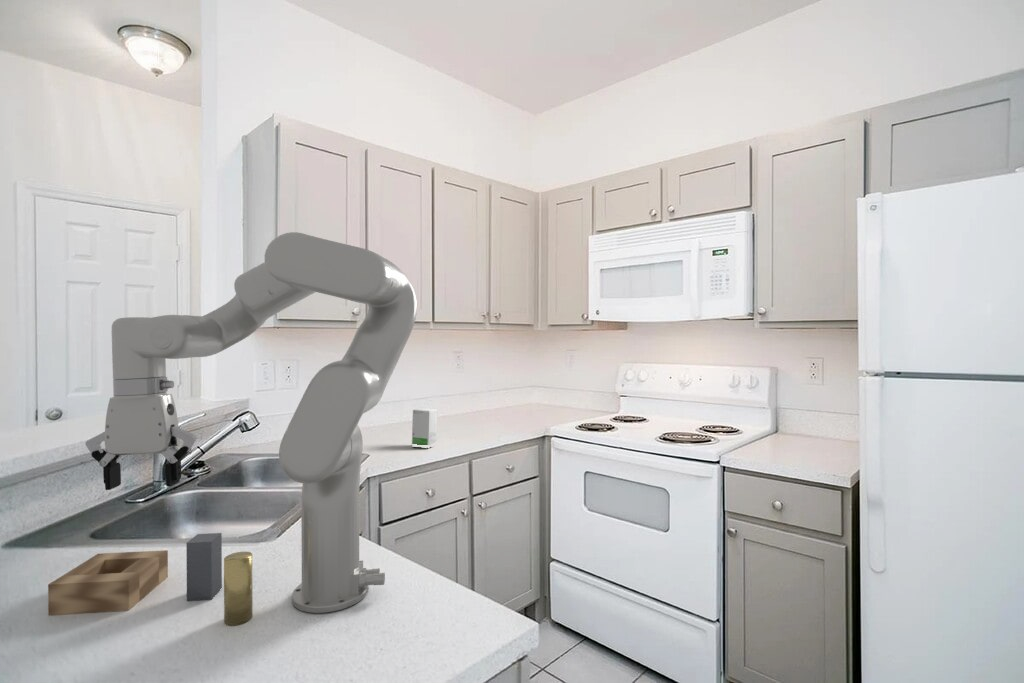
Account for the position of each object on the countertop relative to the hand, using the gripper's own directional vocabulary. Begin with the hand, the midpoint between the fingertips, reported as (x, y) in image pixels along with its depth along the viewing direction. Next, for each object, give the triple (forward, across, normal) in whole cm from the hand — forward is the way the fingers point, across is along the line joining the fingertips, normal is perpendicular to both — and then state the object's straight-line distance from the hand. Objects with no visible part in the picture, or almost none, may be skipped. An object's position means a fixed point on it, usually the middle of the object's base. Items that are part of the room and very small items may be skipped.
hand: (143, 486), depth 90 cm
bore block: (+19, +6, -1) cm, 20 cm away
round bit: (+20, -19, +10) cm, 29 cm away
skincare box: (+20, -43, -117) cm, 126 cm away
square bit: (+19, -10, +1) cm, 22 cm away
